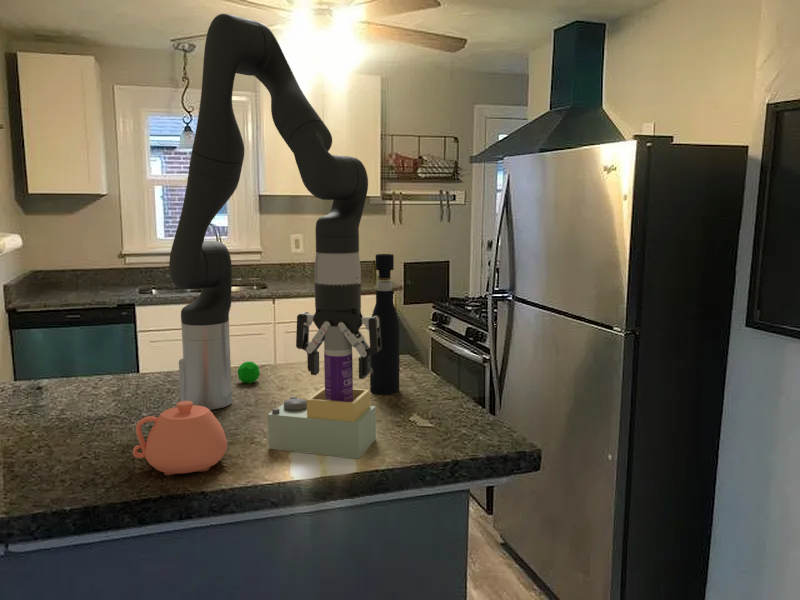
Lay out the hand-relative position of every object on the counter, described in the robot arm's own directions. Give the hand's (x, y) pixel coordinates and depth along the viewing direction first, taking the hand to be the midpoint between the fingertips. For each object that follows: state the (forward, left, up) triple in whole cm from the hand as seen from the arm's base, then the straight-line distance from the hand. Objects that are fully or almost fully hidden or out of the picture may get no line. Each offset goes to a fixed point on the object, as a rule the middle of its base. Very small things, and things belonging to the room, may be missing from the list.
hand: (338, 375), depth 109 cm
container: (0, 0, -6) cm, 6 cm away
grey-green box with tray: (-3, 0, -12) cm, 13 cm away
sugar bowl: (-21, -15, -12) cm, 28 cm away
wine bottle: (-2, +33, -12) cm, 36 cm away
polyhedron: (-34, +31, -12) cm, 48 cm away
